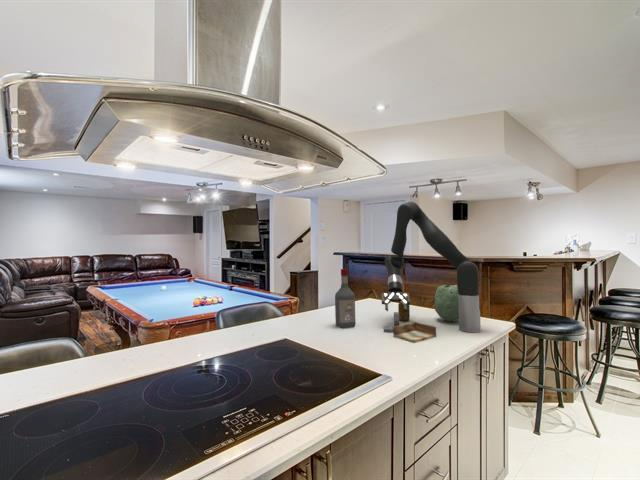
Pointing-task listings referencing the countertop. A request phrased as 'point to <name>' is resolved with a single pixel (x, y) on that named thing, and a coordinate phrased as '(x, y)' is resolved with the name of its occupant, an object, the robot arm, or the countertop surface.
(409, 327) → the walls
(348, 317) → the liquor
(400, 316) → the condiment
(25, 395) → the countertop surface
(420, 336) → the tray
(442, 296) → the green rounded lump
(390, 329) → the bracket
